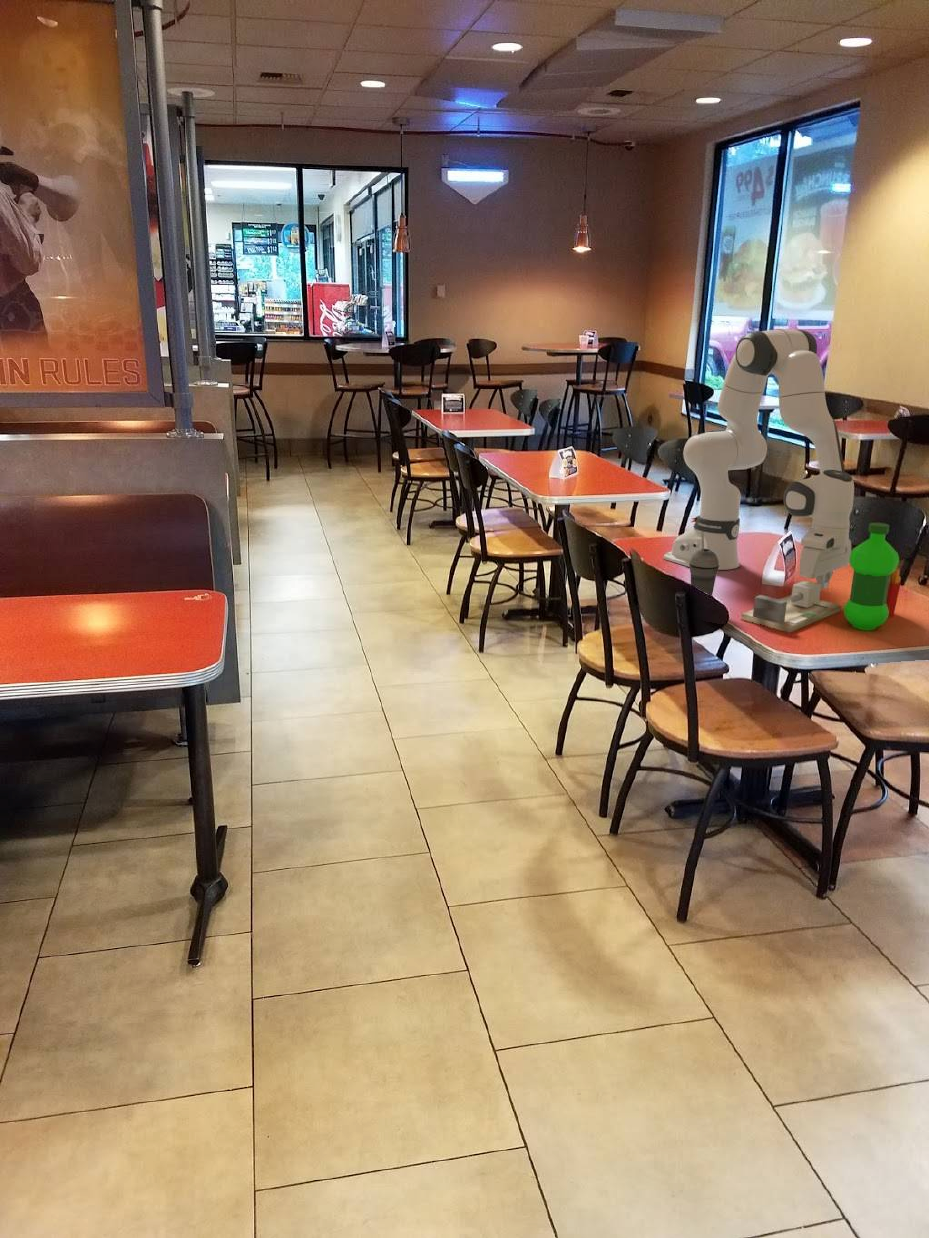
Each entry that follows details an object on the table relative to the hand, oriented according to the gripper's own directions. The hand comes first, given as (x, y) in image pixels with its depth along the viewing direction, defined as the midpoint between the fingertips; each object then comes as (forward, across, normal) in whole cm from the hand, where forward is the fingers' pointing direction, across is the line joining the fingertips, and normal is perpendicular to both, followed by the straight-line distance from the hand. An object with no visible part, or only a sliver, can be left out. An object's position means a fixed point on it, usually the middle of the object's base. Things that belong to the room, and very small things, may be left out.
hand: (822, 588), depth 236 cm
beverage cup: (+4, +27, -18) cm, 33 cm away
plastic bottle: (+4, +9, +16) cm, 19 cm away
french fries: (+4, -5, +14) cm, 15 cm away
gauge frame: (+4, +14, 0) cm, 15 cm away
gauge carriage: (+2, +10, +2) cm, 10 cm away
